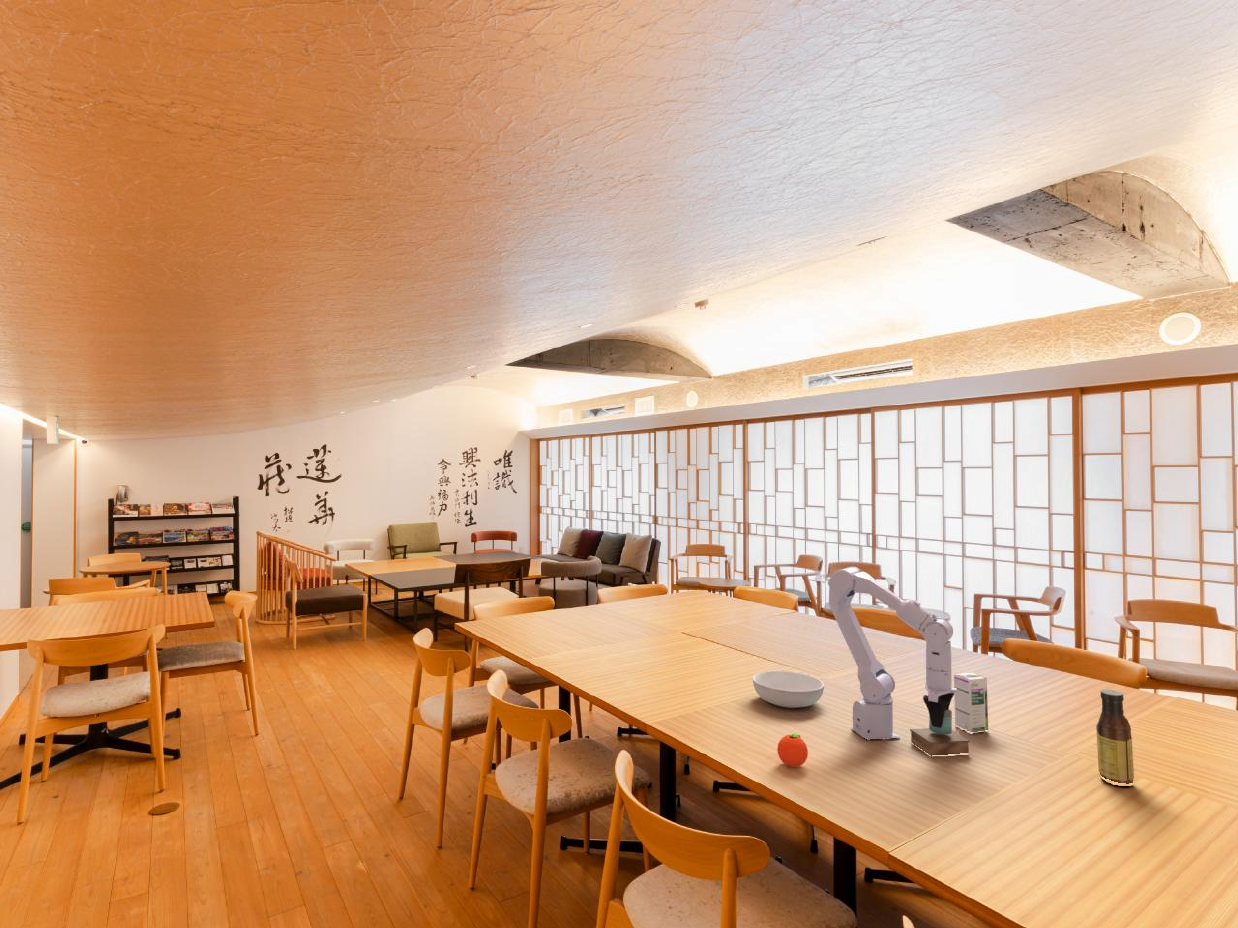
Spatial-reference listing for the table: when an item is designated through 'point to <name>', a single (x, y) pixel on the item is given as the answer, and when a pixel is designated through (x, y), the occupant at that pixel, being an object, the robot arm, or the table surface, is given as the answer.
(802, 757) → the tomato
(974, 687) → the syrup box
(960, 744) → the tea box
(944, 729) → the cylinder
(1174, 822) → the table surface
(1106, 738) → the sauce bottle
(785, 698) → the serving bowl
